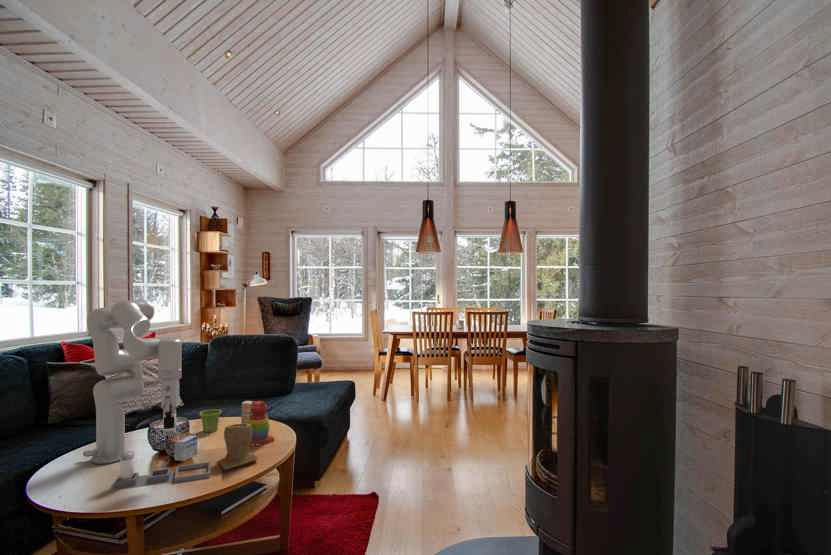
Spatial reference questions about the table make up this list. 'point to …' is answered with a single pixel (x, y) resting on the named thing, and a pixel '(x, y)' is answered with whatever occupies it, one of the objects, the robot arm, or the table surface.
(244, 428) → the brown piece
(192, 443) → the medicine box
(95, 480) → the table surface
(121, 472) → the plain fuse
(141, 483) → the fuse block
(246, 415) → the supplement box
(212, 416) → the plant pot
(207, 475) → the tray
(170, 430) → the marked fuse
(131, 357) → the robot arm
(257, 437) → the stacking bear
